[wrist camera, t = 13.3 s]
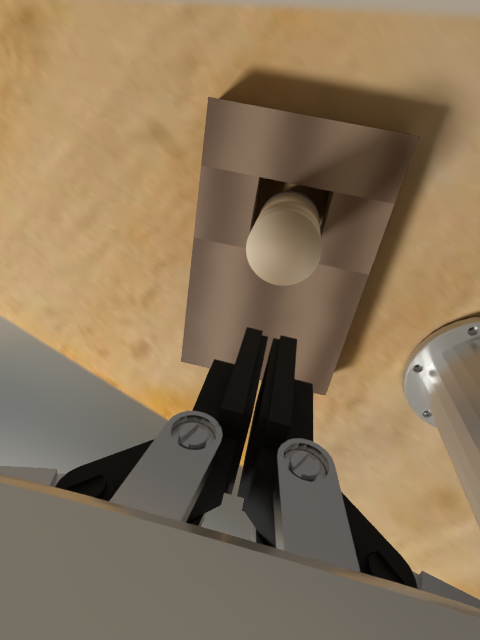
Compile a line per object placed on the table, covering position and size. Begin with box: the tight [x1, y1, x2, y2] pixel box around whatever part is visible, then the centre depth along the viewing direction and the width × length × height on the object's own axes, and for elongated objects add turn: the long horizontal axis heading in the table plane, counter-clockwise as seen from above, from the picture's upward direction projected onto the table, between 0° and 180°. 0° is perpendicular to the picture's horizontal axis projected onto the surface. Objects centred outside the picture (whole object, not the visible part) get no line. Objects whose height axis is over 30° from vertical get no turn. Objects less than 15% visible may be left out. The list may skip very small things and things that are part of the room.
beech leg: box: [246, 191, 322, 286], centre depth 26 cm, size 4×4×10 cm
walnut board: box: [181, 97, 419, 395], centre depth 31 cm, size 14×22×3 cm, turn 171°
